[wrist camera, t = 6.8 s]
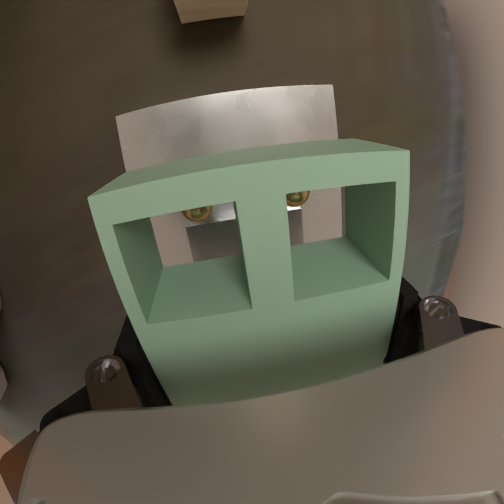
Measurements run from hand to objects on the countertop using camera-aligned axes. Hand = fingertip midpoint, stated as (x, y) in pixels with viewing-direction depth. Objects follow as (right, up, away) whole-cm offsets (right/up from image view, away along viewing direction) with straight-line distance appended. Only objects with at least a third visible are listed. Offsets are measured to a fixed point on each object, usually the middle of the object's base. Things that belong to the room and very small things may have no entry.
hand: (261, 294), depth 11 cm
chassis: (-1, +3, +7) cm, 8 cm away
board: (0, 0, -1) cm, 1 cm away
